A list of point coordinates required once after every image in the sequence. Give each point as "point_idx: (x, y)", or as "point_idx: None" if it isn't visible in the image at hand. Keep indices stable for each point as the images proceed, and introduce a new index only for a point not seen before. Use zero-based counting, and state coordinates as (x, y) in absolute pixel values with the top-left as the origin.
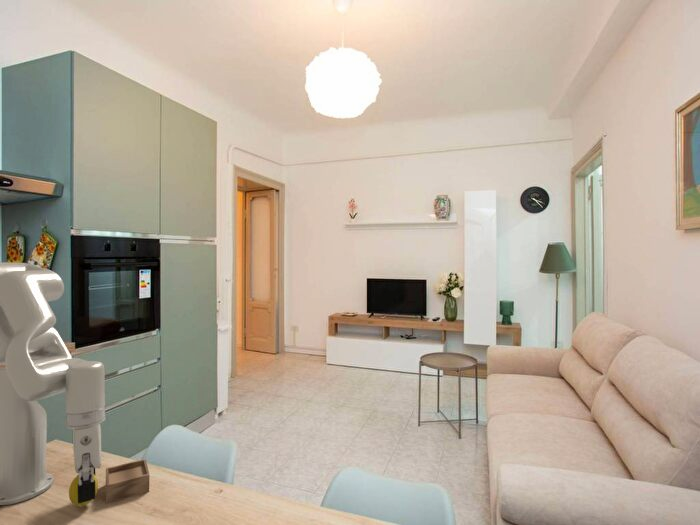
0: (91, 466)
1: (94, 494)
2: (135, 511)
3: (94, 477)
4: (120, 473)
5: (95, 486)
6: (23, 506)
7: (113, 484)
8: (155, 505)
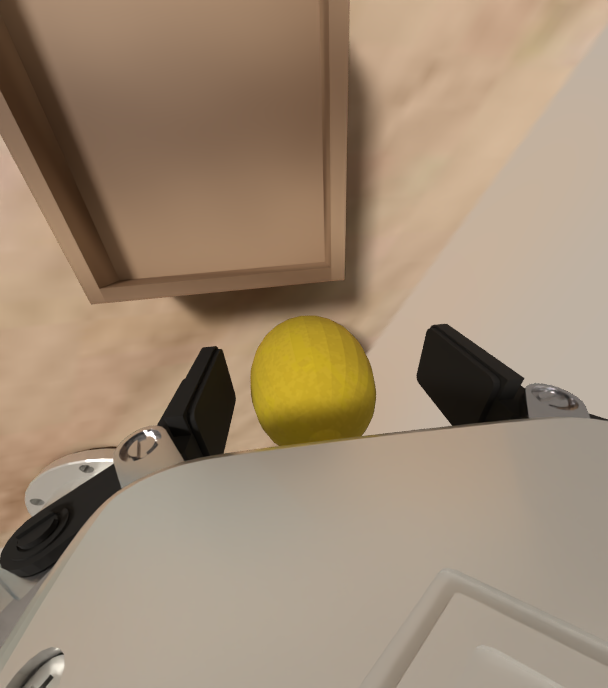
0: (204, 418)
1: (457, 334)
2: (474, 116)
3: (336, 369)
4: (138, 196)
5: (343, 337)
6: None
7: (343, 239)
8: None
